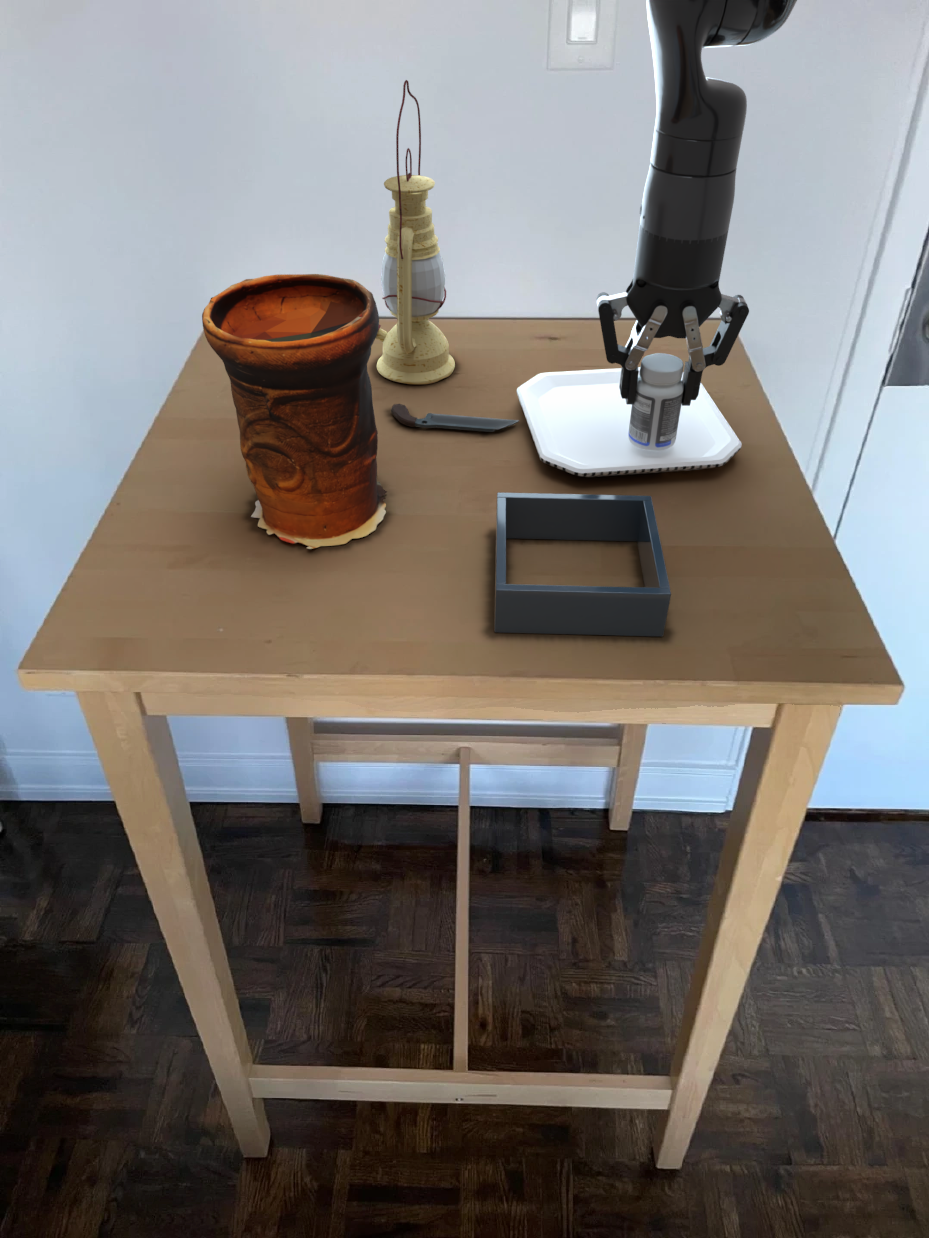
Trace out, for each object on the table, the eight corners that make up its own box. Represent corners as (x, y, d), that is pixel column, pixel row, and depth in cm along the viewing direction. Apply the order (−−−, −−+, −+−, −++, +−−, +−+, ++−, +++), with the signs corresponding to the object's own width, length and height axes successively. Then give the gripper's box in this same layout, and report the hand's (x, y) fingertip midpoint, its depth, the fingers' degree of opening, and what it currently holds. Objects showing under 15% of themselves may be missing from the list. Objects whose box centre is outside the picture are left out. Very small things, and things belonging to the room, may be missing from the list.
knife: (385, 426, 101) (385, 420, 100) (393, 408, 104) (393, 402, 103) (516, 436, 99) (516, 431, 99) (520, 418, 102) (520, 412, 101)
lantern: (384, 341, 116) (368, 64, 97) (462, 347, 115) (463, 68, 95) (360, 387, 107) (338, 92, 88) (445, 394, 106) (442, 96, 86)
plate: (545, 492, 91) (546, 473, 90) (510, 391, 107) (511, 373, 105) (750, 478, 93) (754, 459, 92) (686, 381, 109) (690, 363, 107)
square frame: (644, 536, 86) (651, 495, 83) (663, 637, 76) (671, 594, 73) (495, 533, 86) (497, 492, 83) (494, 632, 76) (495, 589, 73)
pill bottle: (673, 429, 96) (686, 352, 91) (676, 453, 93) (690, 374, 87) (626, 427, 96) (636, 350, 91) (628, 451, 93) (638, 372, 87)
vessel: (207, 530, 87) (161, 321, 73) (290, 455, 96) (263, 259, 83) (344, 570, 82) (321, 356, 69) (416, 487, 92) (409, 285, 79)
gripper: (604, 235, 78) (585, 419, 89) (778, 238, 77) (738, 422, 89) (597, 205, 83) (581, 382, 95) (760, 207, 83) (724, 384, 94)
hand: (657, 400), depth 92 cm, fingers closed on pill bottle, 4 cm apart
